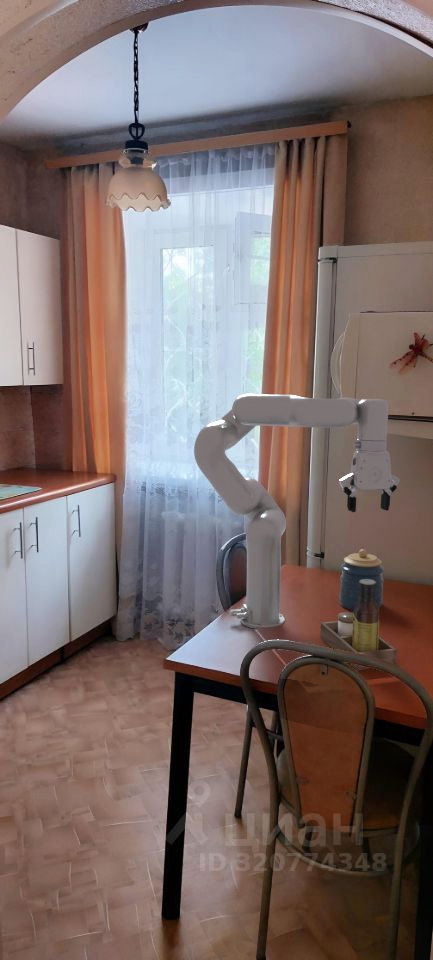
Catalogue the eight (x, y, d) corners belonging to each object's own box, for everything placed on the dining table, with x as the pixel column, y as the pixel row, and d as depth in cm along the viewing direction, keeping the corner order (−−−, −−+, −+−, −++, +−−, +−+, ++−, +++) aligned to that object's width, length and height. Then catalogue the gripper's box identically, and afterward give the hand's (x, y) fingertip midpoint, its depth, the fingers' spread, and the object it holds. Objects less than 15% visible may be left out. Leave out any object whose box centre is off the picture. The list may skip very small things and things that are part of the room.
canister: (389, 604, 204) (393, 549, 201) (368, 615, 194) (371, 557, 191) (352, 595, 212) (355, 541, 209) (330, 605, 203) (333, 549, 200)
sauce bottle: (360, 650, 168) (364, 575, 164) (382, 658, 163) (386, 580, 160) (346, 658, 163) (349, 580, 160) (368, 666, 159) (372, 586, 156)
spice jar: (342, 648, 169) (343, 620, 168) (333, 639, 174) (334, 613, 173) (361, 645, 171) (363, 618, 169) (352, 637, 176) (353, 611, 174)
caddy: (355, 673, 157) (356, 654, 156) (320, 639, 176) (320, 622, 175) (395, 668, 160) (396, 649, 159) (356, 636, 179) (357, 619, 178)
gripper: (348, 448, 167) (345, 514, 170) (408, 447, 172) (404, 511, 175) (335, 445, 174) (332, 508, 177) (393, 444, 179) (390, 506, 182)
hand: (368, 510), depth 176 cm, fingers open, 9 cm apart
